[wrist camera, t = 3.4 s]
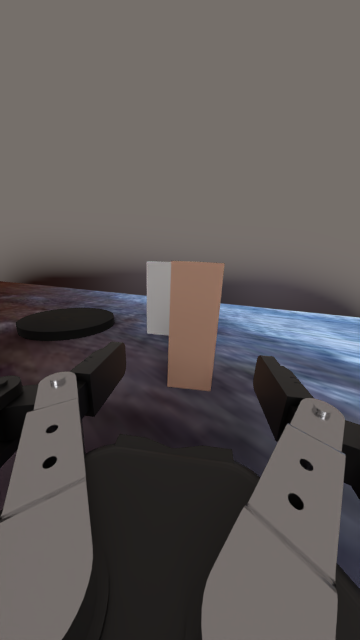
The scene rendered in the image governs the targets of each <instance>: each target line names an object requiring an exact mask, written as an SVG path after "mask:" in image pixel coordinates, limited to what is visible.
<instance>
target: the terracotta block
mask: <svg viewBox="0 0 360 640" xmlns="http://www.w3.org/2000/svg"><path fill="white" fill-rule="evenodd" d="M223 273H224V263H208V262H207V263H206V262H185V261H171V284H170V317H169V349H168V382H167V387H176V388H186V389H195V390H204V391H211V382H212V373H213V364H214V355H215V346H216V337H217V328H218V319H219V310H220V300H221V291H222V282H223Z"/></svg>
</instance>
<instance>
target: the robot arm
mask: <svg viewBox="0 0 360 640" xmlns="http://www.w3.org/2000/svg"><path fill="white" fill-rule="evenodd" d="M125 370H126V354H125V344H124V343H120V342H110V343H109V344H108V345H107V346H105V347H104V348H103V349H100V350H98V351H95V352H93V353H92V354H91V355H90V356H88V357H87V358H86V359H85V360H84V361H82V362H81V363H80V364H78V365H77V366H76V367H75V368H73V369H72V370H71V371H70V372H59V373H55V374H52V375H49V376H47V377H46V378H44V379H43V380H41V381H40V383H39V385H28V386H22V383H21V379H20V377H18V376H4V377H0V468H1V466H2V465H3V464H4V463H5V462H6V461H7V460H8V459H9V458H10V457H11V456H12V455H13V454H14V453H15V451H16V450H17V449H18V450H17V454H16V459H15V463H14V467H13V471H12V475H11V479H10V483H9V488H8V492H7V496H6V500H5V504H4V508H3V509H2V510H1V511H0V640H360V589H359V588H358V587H357V585H356V584H355V583H354V582H353V581H352V580H351V579H350V577H349V576H348V575H347V574H346V573H345V572H344V571H343V570H342V568H341V567H340V566H339V565H338V564H337V563H336V561H337V550H338V539H339V527H340V516H341V504H342V493H343V482H344V483H346V484H348V485H351V487H352V488H353V490H354V491H355V493H356V495H357V496H358V498H359V499H360V425H359V424H355V423H352V422H349V421H346V420H345V418H344V416H343V415H342V413H341V412H340V411H339V410H337V409H336V408H335V407H333V406H332V405H330V404H328V403H326V402H324V401H321V400H318V399H314V398H313V396H312V395H311V394H310V393H309V392H308V390H307V389H306V388H305V387H304V386H303V385H302V384H301V382H300V381H299V380H298V379H297V378H296V376H295V375H294V374H293V373H292V372H291V371H290V370H288V369H287V368H285V367H284V366H280V364H279V363H278V362H277V360H276V359H275V358H274V357H272V356H261V355H259V356H258V358H257V363H256V368H255V374H254V379H253V386H254V391H255V393H256V395H257V398H258V400H259V403H260V405H261V407H262V410H263V412H264V414H265V417H266V419H267V421H268V424H269V426H270V429H271V431H272V433H273V436H274V438H275V440H276V441H278V444H277V446H276V448H275V450H274V452H273V454H272V456H271V458H270V460H269V462H268V464H267V466H266V468H265V470H264V472H263V474H262V476H261V478H260V477H259V476H258V475H257V474H255V473H254V472H253V471H252V470H250V469H249V468H247V467H245V466H244V465H242V464H240V463H238V462H236V461H234V460H233V454H232V449H224V448H217V447H210V446H195V447H185V448H176V449H174V448H170V447H167V446H165V445H163V444H160V443H158V442H155V441H153V440H150V439H148V438H145V437H138V436H130V435H123V434H120V435H119V437H118V439H117V441H116V443H115V444H111V445H106V446H103V447H100V448H97V449H94V450H92V451H90V452H88V453H85V444H84V435H83V426H82V418H83V417H84V416H92V417H95V415H96V414H97V412H98V411H99V410H100V408H101V407H102V405H103V404H104V403H105V401H106V400H107V398H108V397H109V396H110V394H111V393H112V391H113V390H114V388H115V387H116V386H117V384H118V383H119V381H120V380H121V379H122V377H123V376H124V374H125Z"/></svg>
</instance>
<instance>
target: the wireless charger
mask: <svg viewBox="0 0 360 640" xmlns="http://www.w3.org/2000/svg"><path fill="white" fill-rule="evenodd" d="M113 324H114V315H113V313H111V312H110V311H107V310H103V309H95V308H67V309H57V310H50V311H45V312H40V313H36V314H32V315H29V316H26V317H24V318H21V319H20V320H18V321H17V322H16V327H17V332H18V335H19V336H21V337H23V338H26V339H31V340H39V341H57V340H69V339H76V338H82V337H86V336H91V335H94V334H97V333H100V332H103V331H105V330H107V329H109V328H110V327H112V326H113Z"/></svg>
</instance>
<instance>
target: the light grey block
mask: <svg viewBox="0 0 360 640" xmlns="http://www.w3.org/2000/svg"><path fill="white" fill-rule="evenodd" d="M170 284H171V262H153V261H147V334H158V335H169V317H170Z"/></svg>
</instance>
